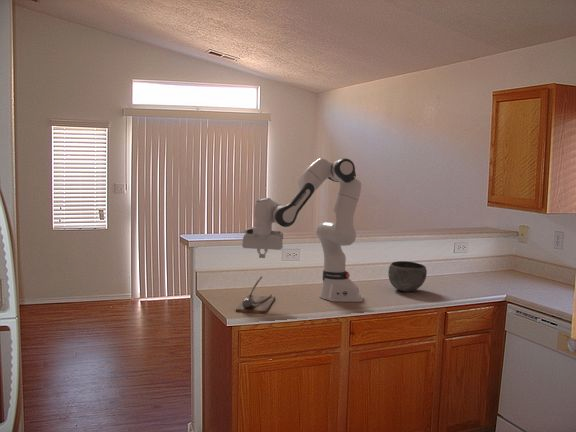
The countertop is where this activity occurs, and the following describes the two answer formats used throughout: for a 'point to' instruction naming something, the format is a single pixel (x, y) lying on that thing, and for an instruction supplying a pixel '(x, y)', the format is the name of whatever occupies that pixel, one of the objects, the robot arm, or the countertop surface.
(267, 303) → the rest board
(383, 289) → the countertop surface
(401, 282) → the bowl
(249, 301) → the juicer
